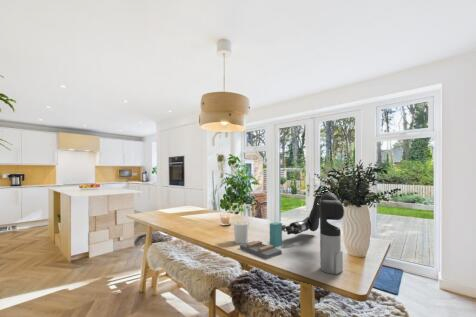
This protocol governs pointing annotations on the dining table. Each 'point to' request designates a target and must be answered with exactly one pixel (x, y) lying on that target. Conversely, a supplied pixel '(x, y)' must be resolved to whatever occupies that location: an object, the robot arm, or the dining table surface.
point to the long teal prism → (276, 234)
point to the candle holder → (241, 232)
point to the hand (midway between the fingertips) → (282, 231)
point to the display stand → (261, 249)
